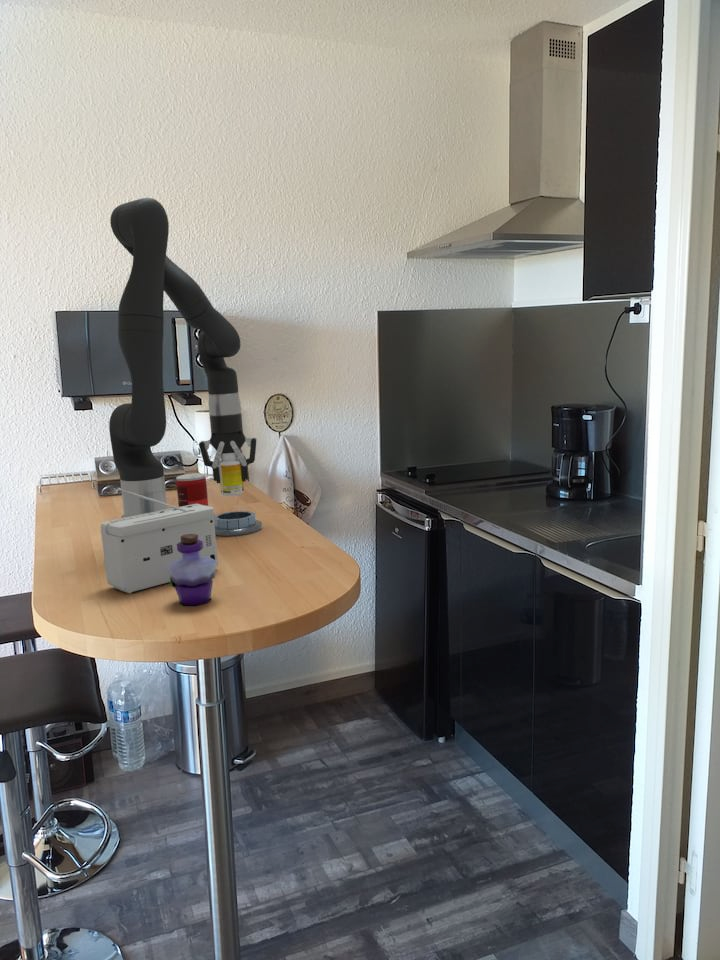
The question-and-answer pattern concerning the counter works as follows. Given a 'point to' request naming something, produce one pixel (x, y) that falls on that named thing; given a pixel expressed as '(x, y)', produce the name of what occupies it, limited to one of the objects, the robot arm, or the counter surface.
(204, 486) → the canned food
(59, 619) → the counter surface
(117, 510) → the counter surface
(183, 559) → the potion bottle
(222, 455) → the supplement bottle
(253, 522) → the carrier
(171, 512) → the stereo radio cassette player
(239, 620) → the counter surface
